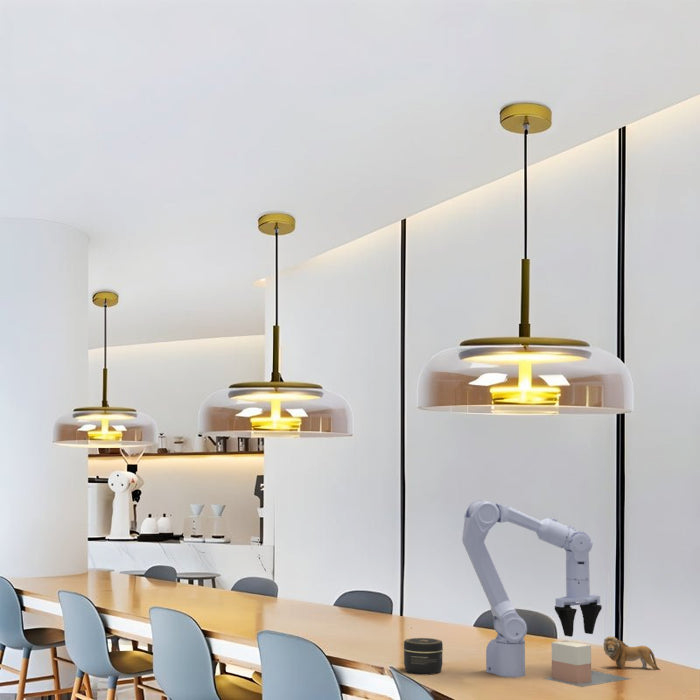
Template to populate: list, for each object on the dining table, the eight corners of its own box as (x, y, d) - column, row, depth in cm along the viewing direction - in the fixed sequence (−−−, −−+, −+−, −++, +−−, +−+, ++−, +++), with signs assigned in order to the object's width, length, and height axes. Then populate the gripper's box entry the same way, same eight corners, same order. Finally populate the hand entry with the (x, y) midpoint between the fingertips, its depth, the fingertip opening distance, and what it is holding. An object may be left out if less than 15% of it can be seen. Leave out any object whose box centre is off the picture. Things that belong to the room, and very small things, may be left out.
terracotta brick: (551, 678, 242) (551, 660, 242) (565, 675, 245) (565, 658, 245) (577, 683, 235) (577, 665, 236) (591, 681, 238) (591, 663, 239)
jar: (408, 666, 260) (408, 636, 261) (446, 669, 257) (446, 638, 258) (399, 673, 250) (399, 642, 251) (438, 676, 248) (438, 644, 249)
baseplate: (543, 682, 241) (543, 678, 241) (592, 674, 252) (592, 670, 252) (581, 691, 232) (581, 686, 232) (631, 682, 242) (631, 678, 242)
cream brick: (551, 660, 242) (551, 642, 243) (565, 658, 245) (565, 640, 246) (577, 665, 236) (577, 647, 236) (591, 663, 239) (591, 645, 239)
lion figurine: (607, 674, 252) (606, 638, 254) (600, 670, 258) (600, 634, 259) (664, 674, 253) (663, 638, 255) (656, 670, 259) (655, 634, 260)
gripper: (570, 582, 243) (571, 639, 241) (609, 579, 252) (610, 634, 250) (548, 579, 249) (549, 635, 247) (587, 576, 257) (588, 630, 255)
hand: (578, 634), depth 249 cm, fingers open, 7 cm apart
